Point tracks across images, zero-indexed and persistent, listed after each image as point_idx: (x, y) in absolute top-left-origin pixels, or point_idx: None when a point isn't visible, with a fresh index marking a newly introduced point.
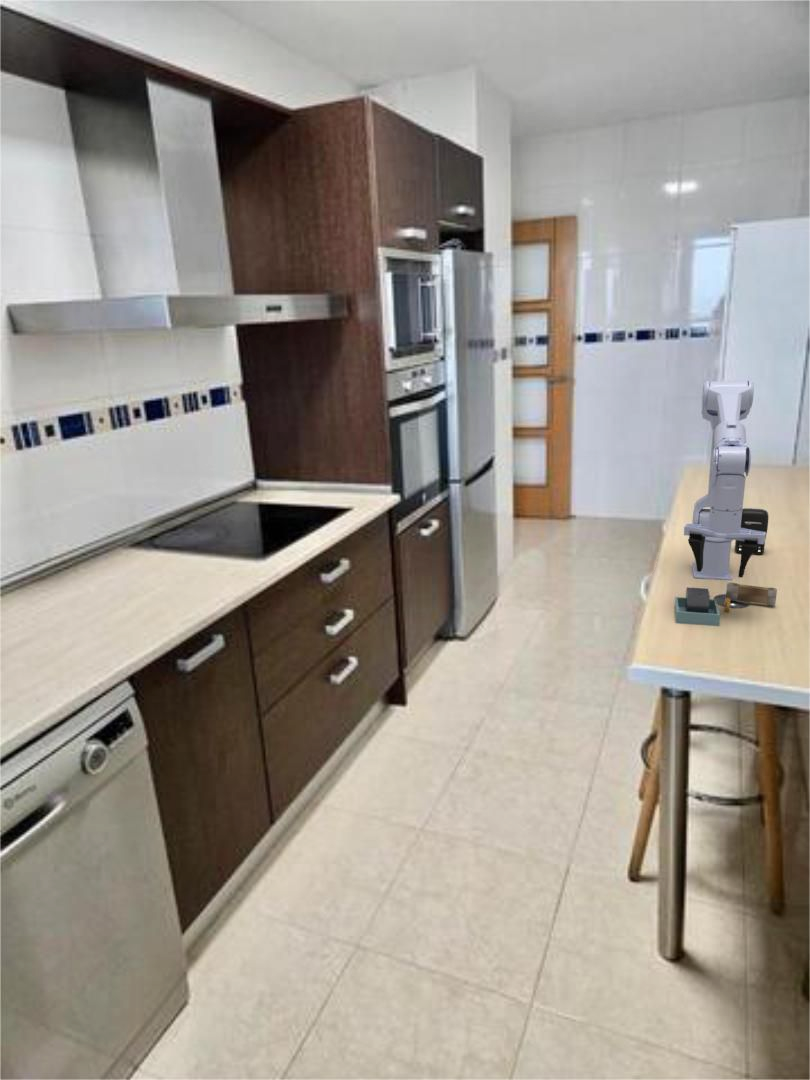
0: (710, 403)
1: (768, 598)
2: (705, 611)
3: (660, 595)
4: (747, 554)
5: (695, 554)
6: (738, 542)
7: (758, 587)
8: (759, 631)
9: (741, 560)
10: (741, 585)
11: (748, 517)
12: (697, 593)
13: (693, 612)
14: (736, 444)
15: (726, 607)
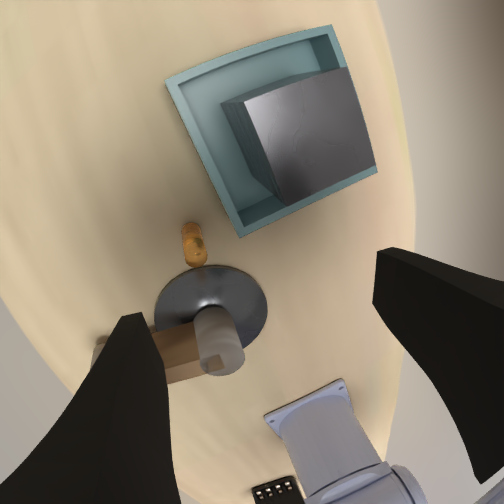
0: None
1: None
2: (237, 98)
3: (401, 231)
4: (37, 479)
5: (495, 284)
6: (295, 492)
7: None
8: (37, 145)
9: (106, 413)
10: (194, 369)
11: None
12: (312, 107)
13: (274, 44)
14: None
15: (191, 232)
